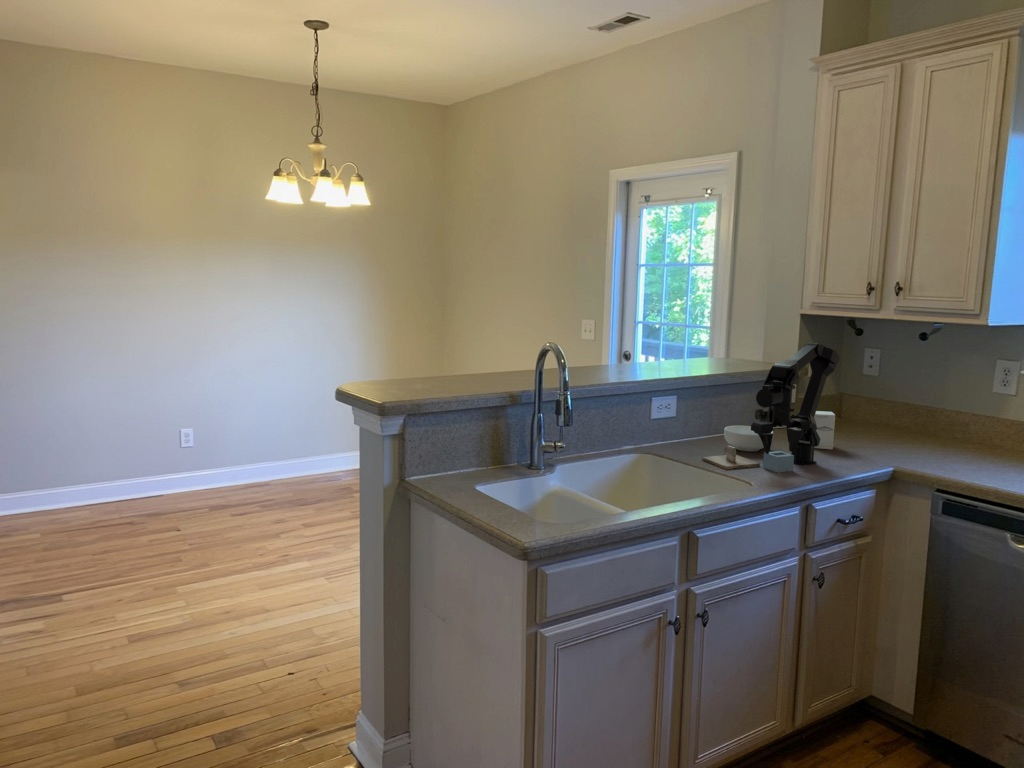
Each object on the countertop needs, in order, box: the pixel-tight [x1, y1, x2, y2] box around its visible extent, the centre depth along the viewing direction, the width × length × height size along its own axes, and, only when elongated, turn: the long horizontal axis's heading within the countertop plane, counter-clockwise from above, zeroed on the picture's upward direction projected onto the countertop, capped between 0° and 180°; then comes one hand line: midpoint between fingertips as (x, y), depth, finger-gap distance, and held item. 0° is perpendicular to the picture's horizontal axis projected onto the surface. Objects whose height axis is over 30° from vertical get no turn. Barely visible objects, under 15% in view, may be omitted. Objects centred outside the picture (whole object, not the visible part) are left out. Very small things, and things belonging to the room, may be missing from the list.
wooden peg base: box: [701, 445, 761, 470], centre depth 247 cm, size 13×13×6 cm
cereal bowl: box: [723, 425, 774, 452], centre depth 268 cm, size 17×17×7 cm
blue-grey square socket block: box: [762, 450, 795, 473], centre depth 240 cm, size 6×6×5 cm
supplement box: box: [814, 410, 836, 450], centre depth 271 cm, size 7×7×13 cm
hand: (779, 452), depth 239 cm, fingers open, 9 cm apart
